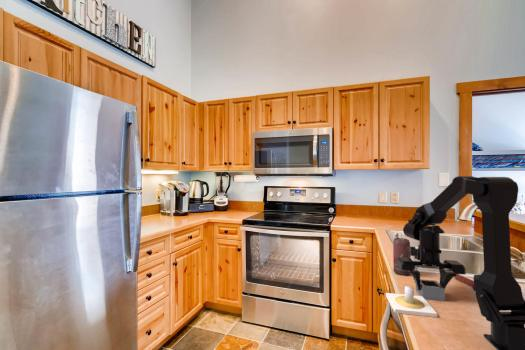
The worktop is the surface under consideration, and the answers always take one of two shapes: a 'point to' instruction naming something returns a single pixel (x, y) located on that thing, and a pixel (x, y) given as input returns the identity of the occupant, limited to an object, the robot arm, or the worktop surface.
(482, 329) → the worktop surface
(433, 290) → the grey hollow square box
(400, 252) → the can
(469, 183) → the robot arm
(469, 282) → the pliers
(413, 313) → the post base
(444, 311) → the worktop surface
